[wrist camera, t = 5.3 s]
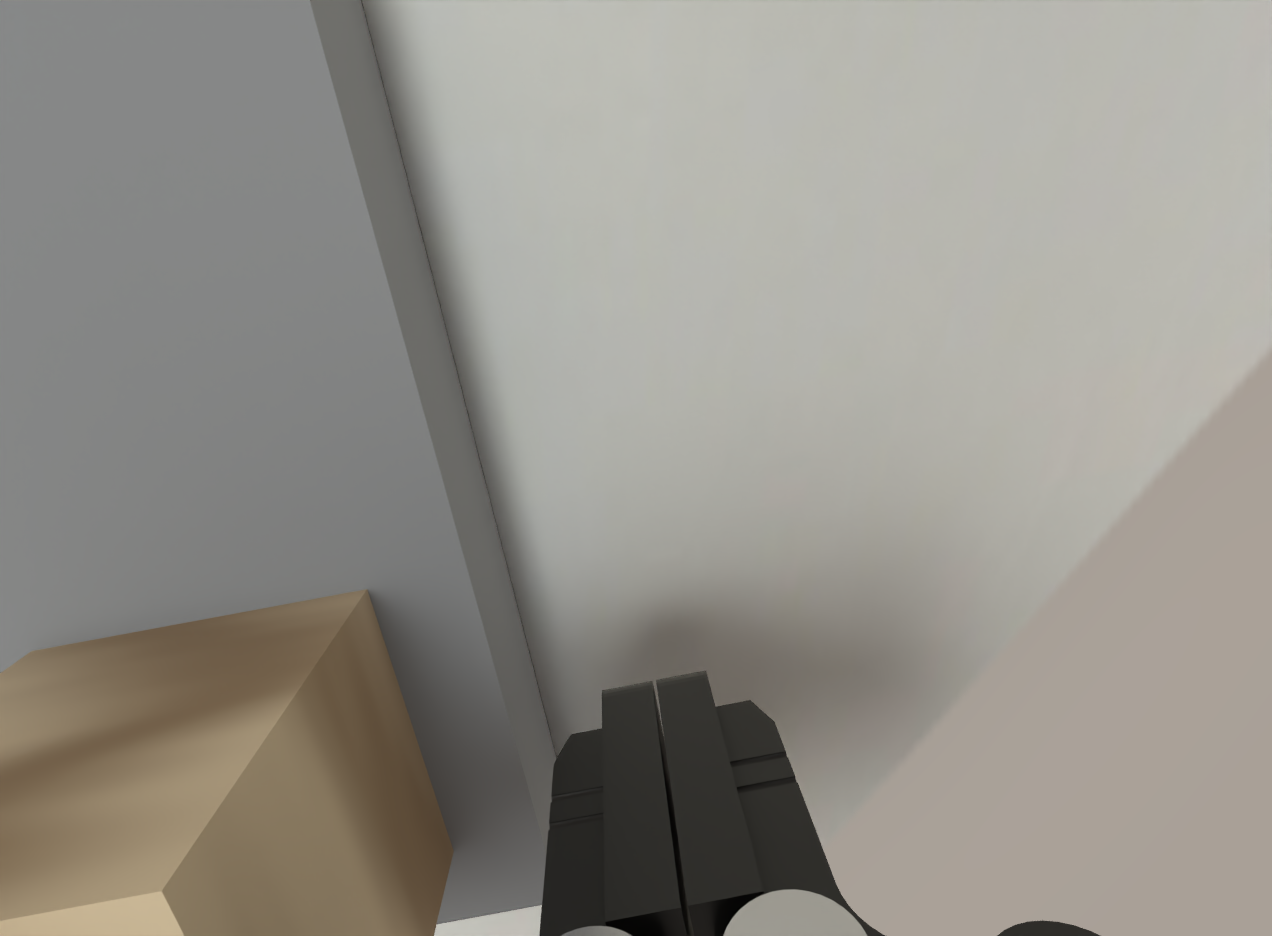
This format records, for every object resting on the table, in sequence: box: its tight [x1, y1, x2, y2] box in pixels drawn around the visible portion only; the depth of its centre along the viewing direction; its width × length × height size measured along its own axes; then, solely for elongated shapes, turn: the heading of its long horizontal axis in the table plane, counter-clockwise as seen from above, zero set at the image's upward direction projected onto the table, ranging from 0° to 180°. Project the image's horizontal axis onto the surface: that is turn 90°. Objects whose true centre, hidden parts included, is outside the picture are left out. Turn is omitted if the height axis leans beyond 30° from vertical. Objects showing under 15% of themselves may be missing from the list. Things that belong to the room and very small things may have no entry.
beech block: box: [0, 589, 454, 936], centre depth 8 cm, size 5×5×5 cm
